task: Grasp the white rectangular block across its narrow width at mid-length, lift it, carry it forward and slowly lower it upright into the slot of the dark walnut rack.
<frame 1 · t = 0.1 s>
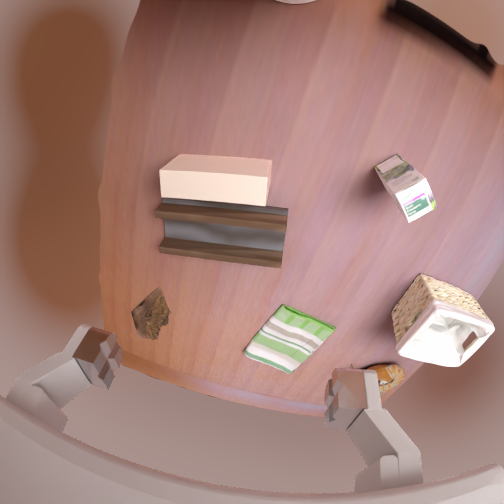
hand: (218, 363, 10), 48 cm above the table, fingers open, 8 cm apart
wooden fragment: (150, 314, 83), on the table
syrup box: (391, 171, 51), on the table
dish towel: (287, 337, 81), on the table
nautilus: (371, 367, 84), on the table
slot rack: (223, 227, 63), on the table
white rectangular block: (224, 168, 56), on the table
storage basket: (433, 301, 67), on the table
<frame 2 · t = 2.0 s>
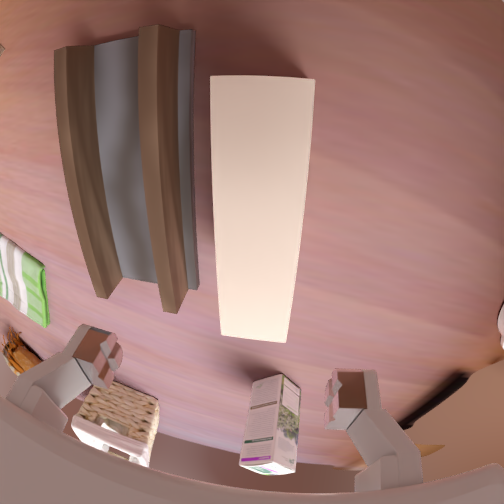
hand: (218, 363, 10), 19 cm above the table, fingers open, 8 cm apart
syrup box: (277, 384, 43), on the table
dish towel: (7, 264, 40), on the table
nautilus: (30, 349, 57), on the table
slot rack: (136, 170, 26), on the table
white rectangular block: (271, 179, 25), on the table
storage basket: (132, 403, 59), on the table
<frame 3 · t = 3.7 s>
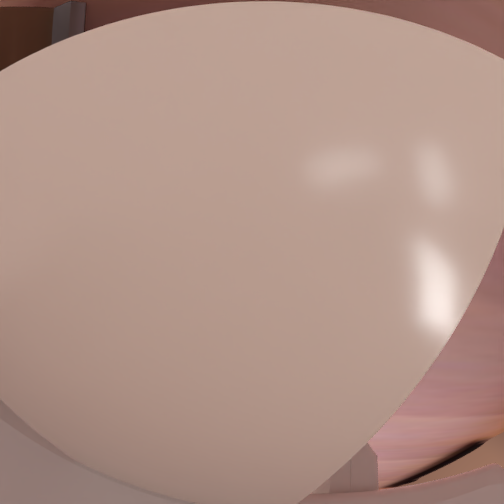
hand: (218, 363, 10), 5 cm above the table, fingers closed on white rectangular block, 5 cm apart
slot rack: (36, 250, 15), on the table
white rectangular block: (240, 281, 14), on the table, touching gripper
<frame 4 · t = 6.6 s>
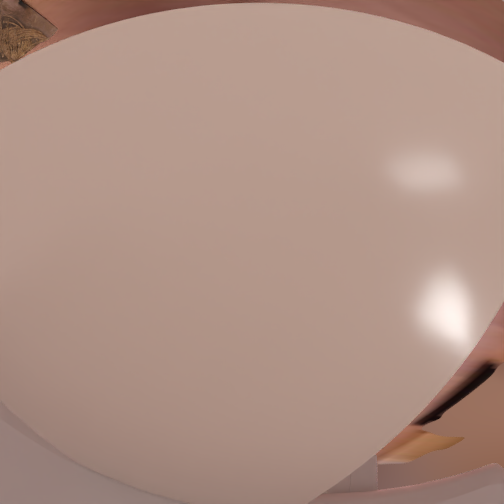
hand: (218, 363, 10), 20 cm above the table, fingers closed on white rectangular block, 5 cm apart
wooden fragment: (6, 25, 19), on the table
white rectangular block: (240, 282, 14), point 16 cm above the table, touching gripper
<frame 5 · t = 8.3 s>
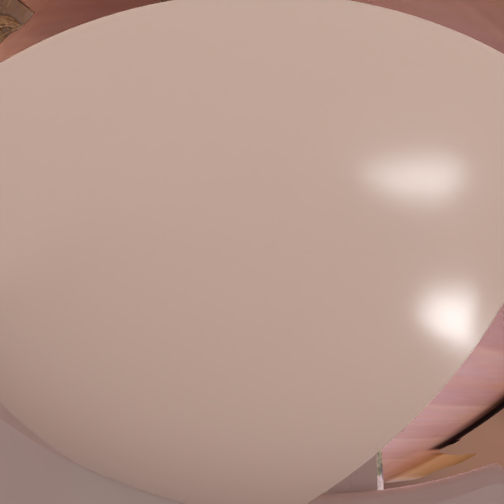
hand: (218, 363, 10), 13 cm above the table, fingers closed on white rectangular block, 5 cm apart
white rectangular block: (239, 282, 14), point 8 cm above the table, touching gripper
when the fingers open (7 cm above the table, at t = 9.8 s): white rectangular block stays where it is, resting on slot rack.
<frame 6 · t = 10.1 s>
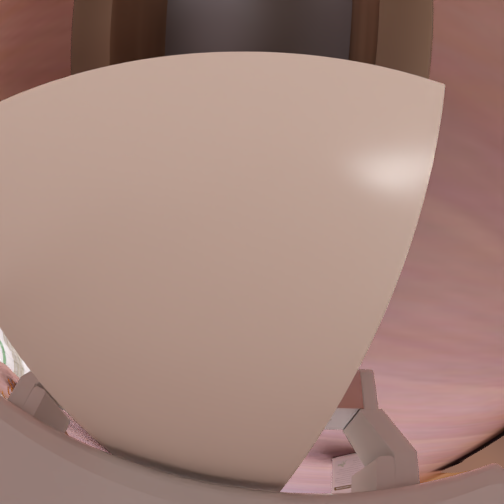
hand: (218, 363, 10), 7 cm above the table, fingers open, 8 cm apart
syrup box: (357, 456, 32), on the table
dish towel: (1, 326, 28), on the table
slot rack: (245, 258, 15), on the table
white rectangular block: (243, 269, 15), point 1 cm above the table, touching slot rack
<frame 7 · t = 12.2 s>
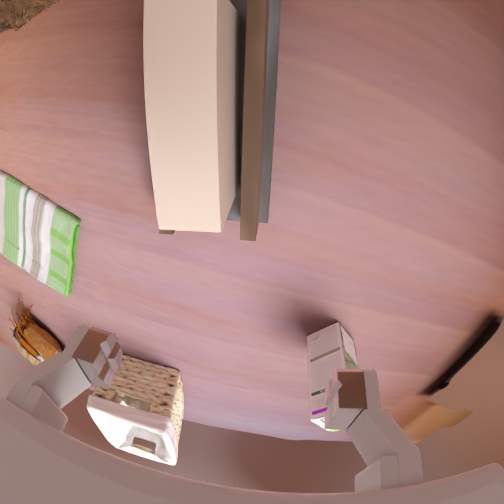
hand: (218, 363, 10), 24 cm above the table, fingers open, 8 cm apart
syrup box: (331, 337, 43), on the table
dish towel: (28, 226, 39), on the table
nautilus: (44, 328, 54), on the table
slot rack: (215, 100, 27), on the table
white rectangular block: (213, 100, 26), point 1 cm above the table, touching slot rack
storage basket: (153, 385, 58), on the table
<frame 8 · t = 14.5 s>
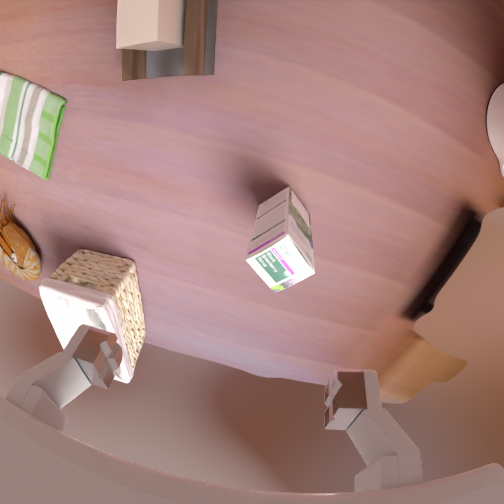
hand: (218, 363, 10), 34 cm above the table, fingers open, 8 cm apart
syrup box: (284, 208, 44), on the table
dish towel: (23, 120, 40), on the table
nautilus: (23, 232, 55), on the table
storage basket: (115, 291, 59), on the table
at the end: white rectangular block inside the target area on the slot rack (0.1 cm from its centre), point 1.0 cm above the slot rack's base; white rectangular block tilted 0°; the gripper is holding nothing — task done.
